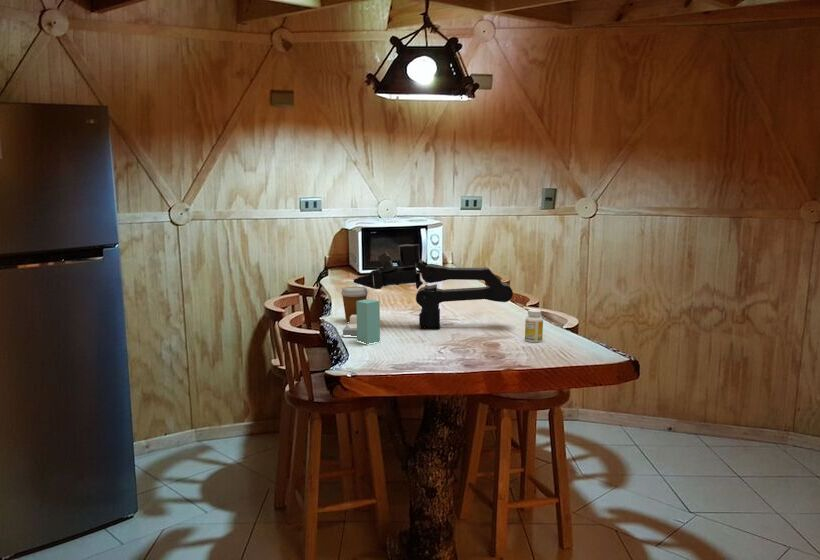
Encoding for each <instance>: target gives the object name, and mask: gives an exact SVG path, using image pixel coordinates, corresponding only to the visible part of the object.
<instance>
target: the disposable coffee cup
mask: <svg viewBox="0 0 820 560" xmlns="http://www.w3.org/2000/svg"><path fill="white" fill-rule="evenodd" d="M368 293H369V291H368V287H366V286H357V285H356V286H355V285H354V286H344V287H343V288H341V292H340V294H341V296H342V302H343V310H344V314H345V322H346V321H347V322H350V316H351V315H357V306H356V301H360V300H366V299H367V296H368Z"/></svg>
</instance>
